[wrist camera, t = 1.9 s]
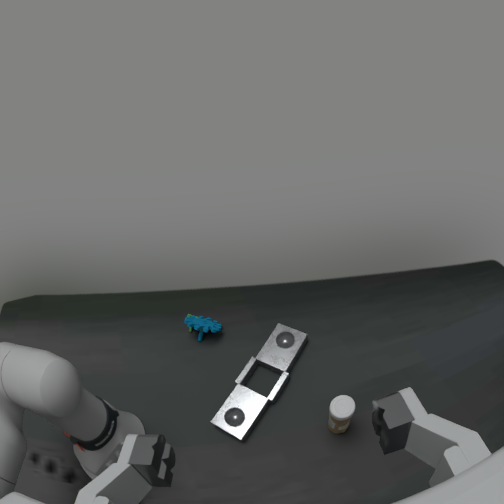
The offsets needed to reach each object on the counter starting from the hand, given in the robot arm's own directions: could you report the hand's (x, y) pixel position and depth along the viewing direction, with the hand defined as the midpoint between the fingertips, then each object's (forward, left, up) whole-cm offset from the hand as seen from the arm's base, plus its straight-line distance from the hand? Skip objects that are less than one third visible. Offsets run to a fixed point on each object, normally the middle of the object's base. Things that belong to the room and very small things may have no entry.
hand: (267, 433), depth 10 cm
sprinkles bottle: (+15, +1, -55) cm, 57 cm away
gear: (+23, +43, -55) cm, 73 cm away
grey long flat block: (+17, +21, -54) cm, 61 cm away
